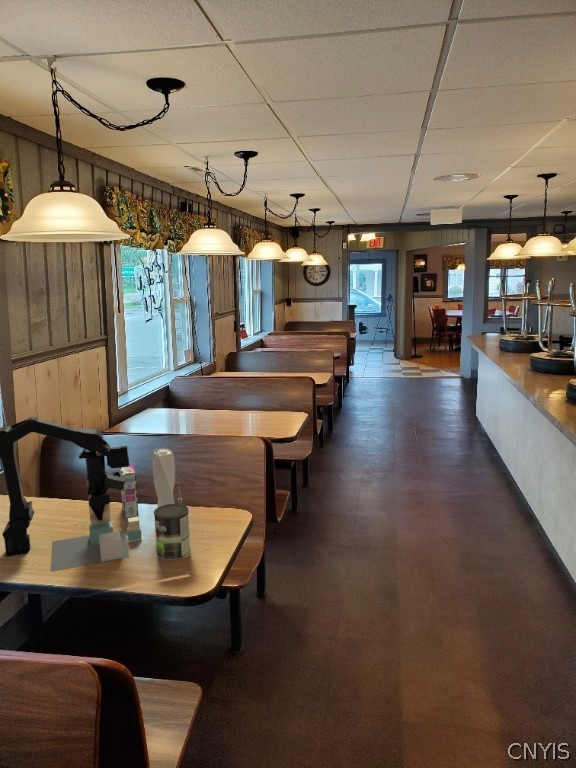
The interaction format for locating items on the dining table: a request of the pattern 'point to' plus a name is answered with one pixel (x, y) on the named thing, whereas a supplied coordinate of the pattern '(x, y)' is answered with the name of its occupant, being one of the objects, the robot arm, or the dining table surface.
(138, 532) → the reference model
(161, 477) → the skyscraper
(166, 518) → the coffee can
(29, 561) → the dining table surface
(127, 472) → the candy bar box
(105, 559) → the grey cube
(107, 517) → the oak cube
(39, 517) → the dining table surface
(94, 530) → the teal block
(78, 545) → the charcoal mat
